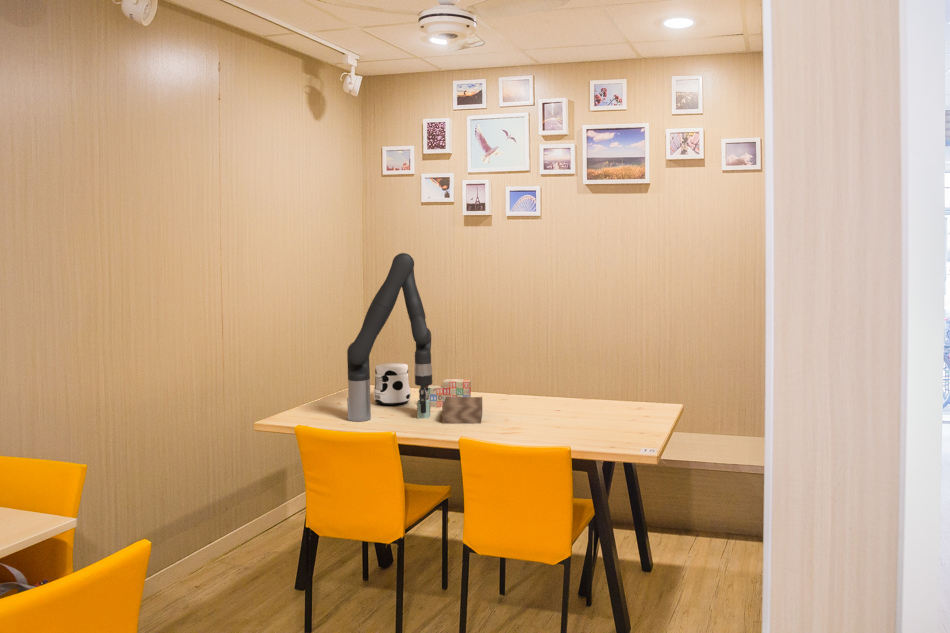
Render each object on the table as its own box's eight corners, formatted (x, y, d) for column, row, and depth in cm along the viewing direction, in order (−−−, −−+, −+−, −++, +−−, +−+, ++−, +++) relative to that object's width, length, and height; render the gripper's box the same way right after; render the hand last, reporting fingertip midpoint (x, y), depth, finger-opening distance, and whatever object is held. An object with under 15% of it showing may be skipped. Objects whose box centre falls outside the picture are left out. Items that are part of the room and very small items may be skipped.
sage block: (417, 418, 323) (417, 402, 323) (418, 415, 328) (418, 400, 328) (429, 418, 323) (428, 402, 322) (430, 415, 328) (430, 399, 327)
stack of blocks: (423, 407, 345) (422, 381, 344) (425, 405, 351) (424, 378, 350) (469, 408, 343) (469, 381, 342) (471, 405, 349) (470, 379, 348)
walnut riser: (442, 423, 313) (442, 406, 313) (446, 412, 333) (445, 397, 333) (481, 423, 313) (480, 406, 312) (482, 412, 333) (482, 397, 332)
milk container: (414, 399, 362) (413, 362, 361) (406, 407, 345) (405, 368, 344) (379, 399, 365) (378, 362, 363) (369, 406, 348) (368, 368, 346)
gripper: (416, 371, 331) (417, 407, 333) (412, 376, 317) (413, 414, 319) (433, 370, 331) (434, 407, 332) (430, 376, 317) (431, 414, 318)
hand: (424, 410), depth 326 cm, fingers open, 8 cm apart
